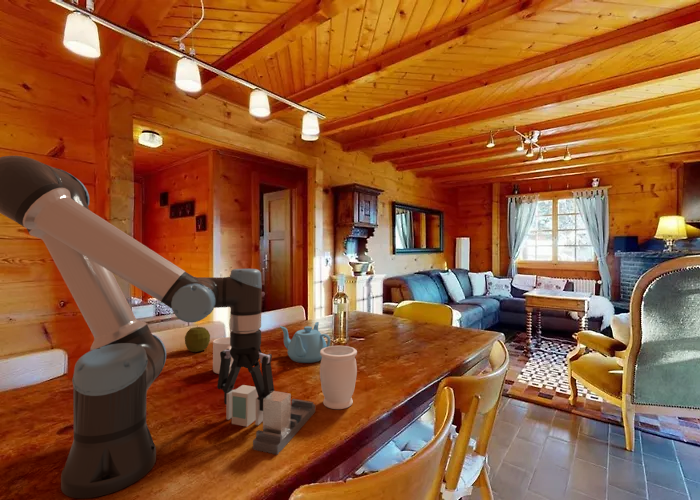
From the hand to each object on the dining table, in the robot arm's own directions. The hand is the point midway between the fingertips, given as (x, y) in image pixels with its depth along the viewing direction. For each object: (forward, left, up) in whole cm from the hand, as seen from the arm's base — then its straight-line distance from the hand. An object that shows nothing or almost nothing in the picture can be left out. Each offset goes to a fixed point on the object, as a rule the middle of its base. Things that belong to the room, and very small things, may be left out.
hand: (245, 419), depth 87 cm
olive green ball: (+43, +53, -1) cm, 68 cm away
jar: (+17, -19, -1) cm, 25 cm away
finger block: (0, 0, 0) cm, 0 cm away
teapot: (+51, +7, -1) cm, 51 cm away
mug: (+27, +26, -1) cm, 37 cm away
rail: (0, -12, 0) cm, 12 cm away
